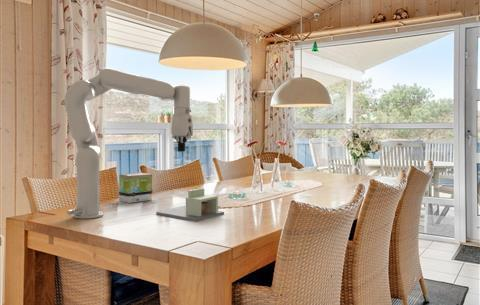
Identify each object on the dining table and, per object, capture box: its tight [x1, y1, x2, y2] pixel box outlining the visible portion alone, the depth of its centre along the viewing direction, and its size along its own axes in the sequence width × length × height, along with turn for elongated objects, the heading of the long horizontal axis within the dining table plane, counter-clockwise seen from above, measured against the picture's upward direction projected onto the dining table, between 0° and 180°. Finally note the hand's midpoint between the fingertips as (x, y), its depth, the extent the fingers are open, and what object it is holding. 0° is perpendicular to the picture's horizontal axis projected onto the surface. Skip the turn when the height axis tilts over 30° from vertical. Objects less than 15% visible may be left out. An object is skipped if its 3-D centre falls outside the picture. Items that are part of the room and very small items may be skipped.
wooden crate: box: [201, 201, 210, 215], centre depth 188 cm, size 6×6×5 cm
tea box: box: [118, 172, 153, 204], centre depth 224 cm, size 15×10×15 cm
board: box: [155, 205, 225, 223], centre depth 191 cm, size 20×24×5 cm
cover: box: [185, 187, 219, 217], centre depth 187 cm, size 13×8×10 cm, turn 146°
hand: (181, 151), depth 193 cm, fingers closed
